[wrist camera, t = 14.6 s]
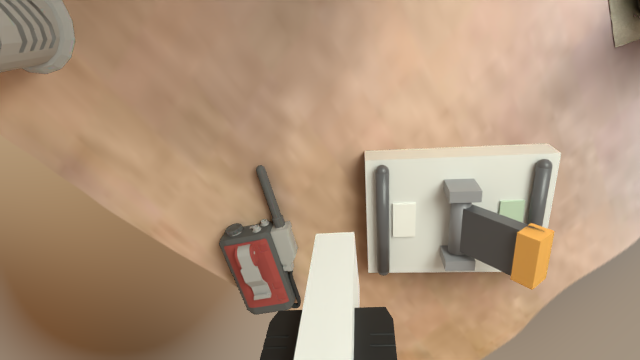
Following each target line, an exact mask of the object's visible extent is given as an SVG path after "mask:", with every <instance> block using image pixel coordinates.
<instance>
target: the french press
mask: <svg viewBox="0 0 640 360" xmlns="http://www.w3.org/2000/svg"><path fill="white" fill-rule="evenodd" d="M74 44H75V35H74V29H73V22H72V19H71V17H70V15H69V13H68V11H67V9H66V7H65V5H64V3H63V1H62V0H0V72H5V71H10V70H15V69H20V68H22V69H24V70H26V71H28V72H32V73H41V74H48V73H51V72H54V71H57V70H60V69H61V68H62V67H63V66H64V65H65V64H66V63H67V62H68V60H69V59H70V58H71V56H72V52H73V48H74Z"/></svg>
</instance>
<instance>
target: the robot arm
mask: <svg viewBox="0 0 640 360" xmlns="http://www.w3.org/2000/svg"><path fill="white" fill-rule="evenodd" d="M260 360H397V354H396V344H395V334H394V324H393V318H392V317H391V315H390V314H389V312H388V310H387V309H386V307H367V308H359V277H358V267H357V256H356V246H355V235H354V232H344V233H324V234H316V237H315V243H314V248H313V254H312V259H311V265H310V271H309V276H308V282H307V288H306V293H305V299H304V304H303V310H284V311H278V313H277V314H276V315H275V316H274V318H273V319H272V320H271V322H270V324H269V327H268V331H267V335H266V339H265V342H264V346H263V350H262V353H261V357H260Z"/></svg>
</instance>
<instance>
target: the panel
mask: <svg viewBox="0 0 640 360" xmlns="http://www.w3.org/2000/svg"><path fill="white" fill-rule="evenodd" d="M560 157H561V153H560V152H559V151H558V150H556V149H555V148H553V147H552V146H551V145H549V144H548V143H544V144H519V145H495V146H470V147H445V148H421V149H396V150H372V151H365V184H366V217H367V249H368V273H379V274H380V275H383V276H384V275H387V274H388V273H406V272H502V271H500V270H498V269H496V268H494V267H491V266H489V265H487V264H485V263H483V262H481V261H479V260H477V259H475V258H473V257H471V256H468V255H466V254H464V255H454V254H452V253H450V252H449V251H448V237H449V221H450V206H451V203H472V204H473V205H476V206H478V207H481V208H484V209H487V210H489V211H492V212H495V213H498V214H500V215H503V216H506V217H508V218H511V219H514V220H517V221H519V222H522V223H525V224H528V225H529V224H531V223H533V224H536V225H539V226H542V227H544V228H547V229H548V224H549V219H550V213H551V207H552V202H553V196H554V190H555V185H556V179H557V174H558V168H559V162H560Z"/></svg>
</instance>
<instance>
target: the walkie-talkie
mask: <svg viewBox="0 0 640 360" xmlns="http://www.w3.org/2000/svg"><path fill="white" fill-rule="evenodd" d="M256 172H257V174H258V177H259V180H260V183H261V186H262V189H263V191H264V194H265V197H266V200H267V203H268V206H269V209H270V211H271V214H272V217H273V218H272V221H273V223H274V224H272V223H271V222H268V221H267V219H263V220H261V224H256V225H251V226H246V227H242V225H241V224H233V225H231V226H229V227H228V228H227V229H226V230H225V233H224V235H223V237H222V238H221V240H220V243H219V245H220V247H221V249H222V252H223V254H224V256H225V259H226V261H227V263H228V266H229V268H230V271H231V273H232V274H233V277H234V280H235V281H236V284H237V287H238V288H239V290H240V293H241V295H242V298H243V300H244V303H245V304H246V307H247V310H249V311H250V312H251V313H253V314H263V313H269V312H276V311H283V310H288V309H290V308H291V307H292V308H298V307H299V306H300V303H301V298H300V296H299V293H298V290H297V287H296V284H295V282H294V279H293V275H292V272H293V268H294V264H293V261H294V258H295V256H296V253H297V248H298V247H297V244H296V241H295V238H294V235H293V232H292V229H291V227H292V226H291V223H290V221H287V222H285V221H284V219H283V216H282V215H281V213H280V210H279V207H278V205H277V202H276V199H275V196H274V193H273V190H272V187H271V185H270V182H269V179H268V176H267V173H266V170H265V168H264V167H263V166H262V165H259V166H258V167H257V168H256ZM295 297H296V299H297V302H298V303H294V301H295Z"/></svg>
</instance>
